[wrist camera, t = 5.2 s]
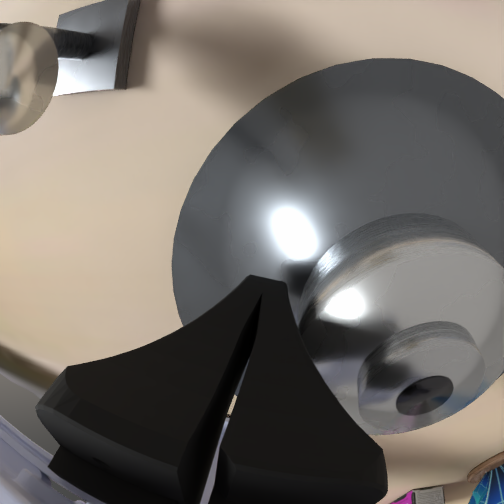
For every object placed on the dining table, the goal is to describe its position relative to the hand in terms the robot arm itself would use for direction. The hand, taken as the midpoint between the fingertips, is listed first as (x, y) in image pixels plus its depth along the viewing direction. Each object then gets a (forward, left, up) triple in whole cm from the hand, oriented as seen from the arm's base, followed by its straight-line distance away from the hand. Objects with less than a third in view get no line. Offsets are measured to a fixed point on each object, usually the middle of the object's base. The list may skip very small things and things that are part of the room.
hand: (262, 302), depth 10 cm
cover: (0, -5, -1) cm, 5 cm away
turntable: (0, -7, -1) cm, 7 cm away
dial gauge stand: (+9, +9, -2) cm, 12 cm away
